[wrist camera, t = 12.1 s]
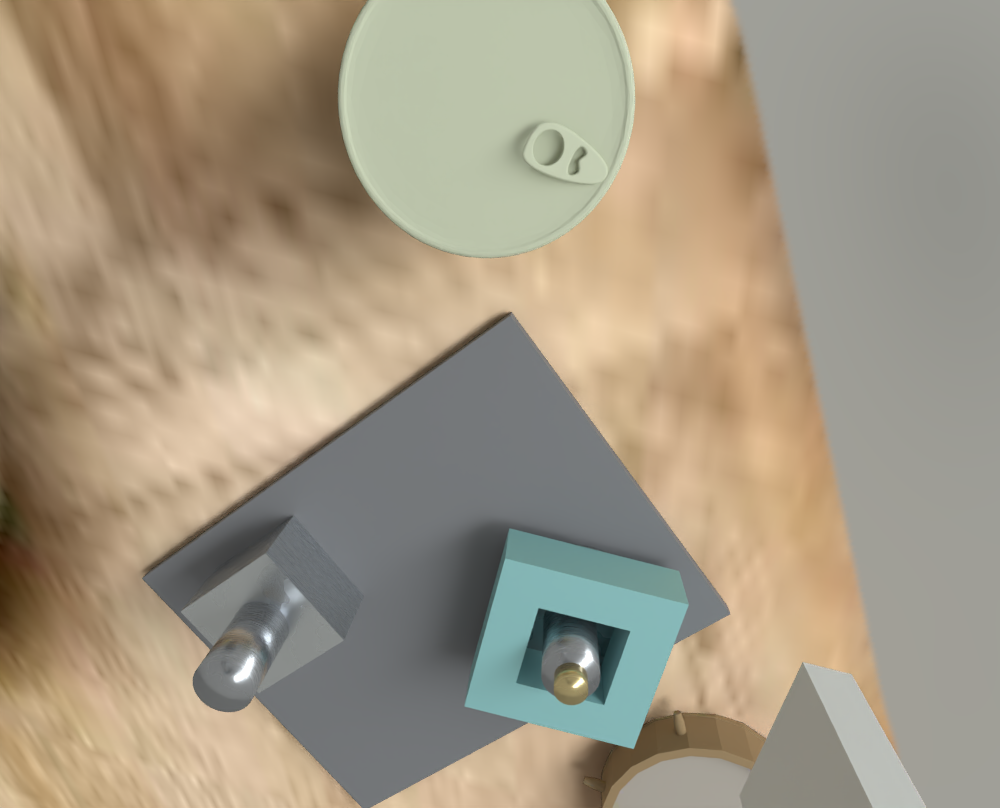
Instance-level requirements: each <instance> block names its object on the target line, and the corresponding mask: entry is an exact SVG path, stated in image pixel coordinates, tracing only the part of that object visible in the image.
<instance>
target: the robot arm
mask: <svg viewBox="0 0 1000 808" xmlns="http://www.w3.org/2000/svg"><path fill="white" fill-rule="evenodd" d="M739 796H740V799H741V803H742V806H743V808H926V806H925V804H924V802H923V801H922V799H921V797H920V795H919V793H918V792H917V790H916V788H915V786H914V784H913V783H912V781H911V779H910V777H909V776H908V774H907V772H906V770H905V768H904V767H903V765H902V763H901V761H900V760H899V758H898V756H897V754H896V752H895V751H894V749H893V747H892V745H891V743H890V742H889V740H888V738H887V736H886V735H885V733H884V731H883V729H882V727H881V726H880V724H879V722H878V720H877V719H876V717H875V715H874V713H873V711H872V710H871V708H870V706H869V704H868V703H867V701H866V699H865V697H864V695H863V694H862V692H861V690H860V688H859V687H858V685H857V683H856V681H855V679H854V678H853V676H852V674H848V673H844V672H840V671H836V670H832V669H828V668H824V667H820V666H816V665H812V664H808V663H804V662H803V663H802V665H801V667H800V669H799V671H798V673H797V675H796V678H795V680H794V682H793V684H792V686H791V688H790V690H789V692H788V694H787V696H786V699H785V701H784V703H783V705H782V707H781V709H780V711H779V713H778V715H777V718H776V720H775V722H774V724H773V726H772V728H771V730H770V732H769V734H768V736H767V739H766V741H765V743H764V745H763V747H762V749H761V751H760V753H759V755H758V758H757V760H756V762H755V764H754V766H753V768H752V770H751V772H750V774H749V776H748V779H747V781H746V783H745V785H744V787H743V789H742V791H741V793H740V795H739Z"/></svg>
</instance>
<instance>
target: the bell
mask: <svg viewBox="0 0 1000 808" xmlns="http://www.w3.org/2000/svg"><path fill="white" fill-rule="evenodd" d="M574 545H575V544H574ZM578 546H582V547H586V548H590V549H594V550H598V549H595V548H592V547H587V546H583V545H578ZM598 551H600V550H598ZM602 552H603V551H602ZM613 630H614V627H612V626H608V625H604V624H600V623H596V622H592V621H588V620H584V619H580V618H576V617H572V616H568V615H564V614H560V613H557V612H553V611H549V610H545V609H541V608H538V611H537V615H536V618H535V621H534V625H533V628H532V631H531V635H530V638H529V641H528V645H527V648H530V649H534V650H538V651H542V669H541V678H542V682H543V685H544V687H545V688H546V689H547V691H548V692H549V693H551V694H552V695H553V696H555V697H556V698H557V699H558V700H559V701H560V702H561V703H563V704H566V705H577V704H580V703H582V702H583V701H584V700H585V699H586V698H587V697H588V696H590V695H591V694H592V693H594V692H595V690H596V689H597V688H598V686H599V683H600V666H601V665H602V662H603V659H604V656H605V653H606V651H607V648H608V645H609V642H610V639H611V636H612V633H613Z"/></svg>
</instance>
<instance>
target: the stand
mask: <svg viewBox="0 0 1000 808" xmlns="http://www.w3.org/2000/svg"><path fill="white" fill-rule="evenodd" d="M363 597H364V595H363V594H362V593H361V592H360V590H359V589H358V588H357V587H356V586H355V585H354V584H353V582H352V581H351V580H350V579H349V578H348V577H347V576H346V574H345V573H344V572H343V571H342V570H341V569H340V568H339V566H338V565H337V564H336V563H335V562H334V561H333V560H332V559H331V557H330V556H329V555H328V554H327V553H326V552H325V551H324V549H323V548H322V547H321V546H320V545H319V544H318V543H317V541H316V540H315V539H314V538H313V537H312V536H311V535H310V533H309V532H308V531H307V530H306V529H305V528H304V527H303V525H302V524H301V523H300V522H299V521H298V520H297V519H296V518H295V516H292V517H291V518H289V519H288V520H287V521H285V522H284V523H282V524H281V525H279V526H278V527H276V528H275V529H274V530H272V531H271V532H269V533H268V534H266V535H265V536H263V537H262V538H261V539H259V540H258V541H256V542H255V543H253V544H252V545H250V546H249V547H248V548H246V549H245V550H243V551H242V552H240V553H239V554H237V555H236V556H235V557H233V558H232V559H230V560H229V561H227V562H226V563H224V564H223V565H222V566H220V567H219V568H217V569H216V570H215V571H214V572H213V573H212V574H211V576H210V577H209V578H208V579H207V580H206V582H205V583H204V584H203V585H202V586H201V588H200V589H199V590H198V591H197V592H196V594H195V595H194V596H193V597H192V598H191V600H190V601H189V602H188V603H187V604H186V605H185V607H184V608H183V609H182V610H181V611H180V612H181V613H182V614H183V615H184V616H185V617H186V618H187V619H188V620H189V621H190V622H191V623H192V624H193V625H194V626H195V627H196V628H197V629H198V631H199V632H200V633H201V634H202V635H203V636H204V637H205V638H206V639H207V640H208V641H209V642H210V643H211V644H212V645H213V647H212V649H211V650H210V652H209V653H208V654H207V656H206V657H205V659H204V660H203V661H202V663H201V664H200V666H199V667H198V668H197V670H196V671H195V673H194V676H193V687H194V690H195V692H196V694H197V696H198V697H199V698H200V699H201V701H202V702H204V703H205V704H206V705H208V706H209V707H211V708H213V709H215V710H218V711H223V712H235V711H239V710H241V709H243V708H245V707H246V706H247V705H248V704H249V703H250V702H251V700H252V698H253V697H254V695H255V693H256V691H257V692H258V693H260V692H262V691H263V690H265V689H266V688H268V687H270V686H271V685H273V684H275V683H276V682H278V681H279V680H281V679H283V678H284V677H286V676H287V675H289V674H291V673H292V672H294V671H296V670H297V669H299V668H300V667H302V666H304V665H305V664H307V663H308V662H310V661H312V660H313V659H315V658H316V657H318V656H320V655H321V654H323V653H325V652H326V651H328V650H329V649H331V648H333V647H334V646H336V645H337V644H339V643H341V642H342V641H344V639H345V637H346V635H347V633H348V630H349V628H350V626H351V624H352V622H353V619H354V617H355V615H356V613H357V610H358V608H359V606H360V604H361V602H362V599H363Z"/></svg>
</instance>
